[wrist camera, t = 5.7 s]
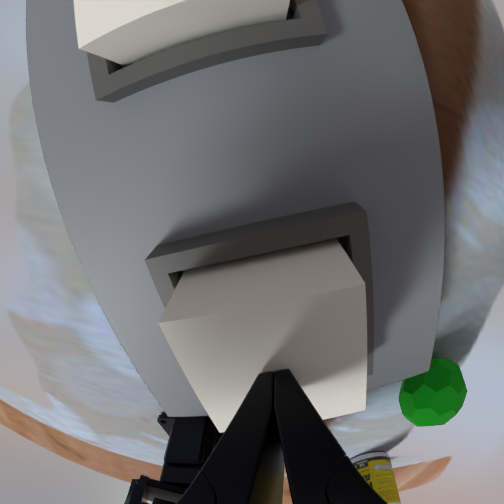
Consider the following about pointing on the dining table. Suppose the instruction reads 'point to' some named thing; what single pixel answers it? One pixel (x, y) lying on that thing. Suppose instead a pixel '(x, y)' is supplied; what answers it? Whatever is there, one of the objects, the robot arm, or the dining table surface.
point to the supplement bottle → (378, 474)
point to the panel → (248, 168)
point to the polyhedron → (433, 394)
